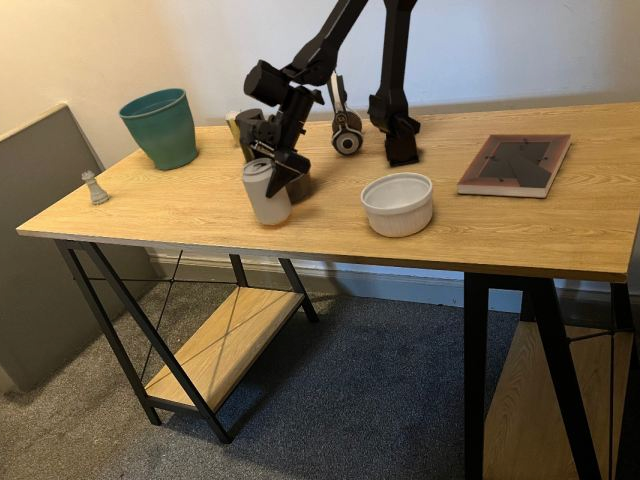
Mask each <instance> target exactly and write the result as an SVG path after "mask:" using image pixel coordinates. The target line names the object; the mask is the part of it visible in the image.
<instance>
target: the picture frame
mask: <svg viewBox="0 0 640 480" xmlns="http://www.w3.org/2000/svg"><path fill="white" fill-rule="evenodd" d="M571 143H572V134H571V133H569V134H565V133H563V134H559V133H558V134H550V133H549V134H548V133H547V134H545V133H544V134H541V133H540V134H539V133H538V134H536V133H534V134H525V133H524V134H490V135H489V136H488V137H487V139H486V141H484V144H482V146H481V148H480V149H479V151H478V153H477V154H475V155H476V156H475V157H474V158H473V160H472V161H471V163H470V164H469V166H468V167H467V168H466V170H465V172H464V173H463V175H461V178H460V179H459V180H458V182H457V183H456V188H457V189H456V190H457V193H458V194H459V195H460V194H462V195H463V194H464V195H482V196H498V197H499V196H502V197H503V196H504V197H505V196H506V197H517V198H518V197H520V198H537V199H538V198H540V199H545V198H546V197H547V195H548V193H549V191H550V188H551V186H552V184H553V182H554V181H555V178H556V176H557V173H558V171H559V169H560V167H561V165H562V163H563V160H564V158H565V156H566V155H567V152H568V150H569V148H570V146H571Z"/></svg>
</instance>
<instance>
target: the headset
mask: <svg viewBox="0 0 640 480" xmlns="http://www.w3.org/2000/svg"><path fill="white" fill-rule="evenodd" d="M337 67H338V63H337V64H336V67H335V69H334V71H333V74H332V76H331V78H330V80H329V81H328V83H327V84H326V88H327V92H328V95H329V99H330V103H331V106H332V111H333V113H334V115H333V117H332V120H331V130H332V135H331V139H330V144H331V146H332V147H333V149H334V150H335V151H336V152H337V153H338V154H339V155H341V156H344V157H350V156H354V155H356V154H357V153H358V152H359V151H360V149H361V148H362V147H363V144H364V137H365V136H364V135H363V132H362V131H363V119H362V115H360V113H359V111H356V110H354V109H353V108H350V107H348V104H347V101H348V93H347V90H346V87H345V82H344V75H342V74H340V75H338V73H337V70H336V69H337Z"/></svg>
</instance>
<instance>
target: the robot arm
mask: <svg viewBox="0 0 640 480" xmlns="http://www.w3.org/2000/svg"><path fill="white" fill-rule="evenodd" d="M369 1H370V0H337V2H336V3H335V5H334V7H333V8H332V10H331V12H330V13H329V15H328V16H327V18H326V20H325V22H324V23H323V24H322V27H320V30H319V32H317V34H316V35H315V36H314V37H312V39H310V40H308V42H306V43H305V44H304V45H303V46H302V48H300V49H299V51H298V52H297V53H296V54H295V56H294V57H293V58H292V61H291V62H290V63H288V64H285V66H283V67H281V68H279V69H278V68H276V67H275V66H274V65H272V64H271V63H270V62H267V61H266V60H264V59H262V58H261V59H258V61H257V63H256V65H254V66H253V67H252V68H251V70H250V71H249V73H246V75H245V78H244V82H243V89H242V90H243V94H244V95H245V96H247V97H249V98H252V99H253V100H256V101H257V102H260V103H262V104H264V105H266V106H267V107H269V108H275V107H276V106H278V105H279V106H278V109H277V111H276V113H275V114H273V113H271V114H270V115H268V118H267V120H266V119H265V120H264V121H263V120H249V119H241V124H240V137H243V138H245V139H244V142H246V143H248V144H250V145H251V147H250V146H248V145H247V148H248V149H249V151H250V153H251V155H252V161H254V160H256V159H260V158H269V159H272V160H273V161H272V160H270V163H271V166H272V169H273V171H272V174H271V177H270V181H269V184H268V187H267V191H266V195H265V197H267V198H269V199H270V198H272V197H273V196H274V195H275V194H276V193H277V192H279V191H280V190H281V189H282V188H283V187H284V186H285V185H287V184H288V183H289V182H291V181H292V180H293V179H294V178H296V177H297V176H301V173H299V172H302V173H304V174H306V175H308V172H310V170H311V168H312V162H311V160H310V159H309V158H307V157H306V156H304V155H302V154H300V153H299V150H298V149H296V145H297V143H298V141H299V139H300V136H301V135H302V136H305V135H306V133H307V130H306V129H304V127H305V124H306V122H307V120H308V118H309V116H310V113H311V110H312V109H313V106H314V103H315V104H318V105H320V106H325V104H326V101H325V99H324V97H323V94H322V93H323V92H322V90H321V89H318V88H319V87H323V86H325V85H327V83H328V81H329V80H330V78H331V76H332V74H334V69H335V67H336V64H337V65H338V58H339V52H340V50H341V47H342V45H343V43H344V42H345V40H346V38H347V37H348V35H349V34H350V32H351V30H352V28H353V27H354V25H355V24H356V22H357V20H358V19H359V17H360V16H361V14H362V13H363V11H364V9H365V7H366V6H367V4H368V3H369ZM382 1H383V5H384V7H385V23H384V34H383V35H384V36H383V44H382V56H381V69H380V72H381V73H380V80H379V81H380V82H379V87H378V88H377V91H376V92H375V94H371V93H370V94H368V95H369V96H368V109H367V112H366V114H367V115H368V116H369V117H368V118H369V122H370V124H371V125H372V126H373V127H375V128H377V130H378V131H379V132H380V133H382V134H385V139H384V142H383V143H384V144H383V146H384V151H385V155H386V160H387V162H389V167H390V168H393V167H398V166H399V167H400V166H405V165H410V164H415V163H419V162H420V153H419V148H418V145H417V144H418V143H417V138H416V135H418V134H420V132H421V126H422V125H421V122H420V121H418V120H417V119H415V118H412V116H409V115H410V113H409V102H408V99H407V98H408V97H407V95H406V92H405V89H404V86H405V76H406V66H407V57H408V47H409V38H410V28H411V27H410V26H411V18H412V12H413V10H414V8H415V7H416V5H417V3H418V1H419V0H382ZM336 68H337V67H336ZM291 83H293V84H296V85H297V86H293V85H291ZM307 85H309V86H310V87H311V86H312V87H316V88H314V89H312V90H311V89H310V88H308V87H307ZM270 153H271V154H273V155H274V157H273V156H271V155H270Z"/></svg>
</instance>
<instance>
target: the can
mask: <svg viewBox="0 0 640 480" xmlns="http://www.w3.org/2000/svg"><path fill="white" fill-rule="evenodd" d="M270 160H272V159H269V158H260V159H256V160H254V161H251V162H249V163H248V164H247V163H246V164H245V165H244V166H243V167H242V168H241V172H242V174H241V182H242V184H243V187H244V189H245V192H246V194H247V197H248V199H249V202H250V205H251V207H252V210H253V212H254V215H255V218H256V220H257V221H258V223H261V224H263V225H266V226H274V225H278V224H280V223H283V222H284V221H286V220H287V219H289V217H290V215H291V214H292V211H293V206H292V205H291V203H290V200H289V197H288V194H287V191H286V188H285V186H284V187H283V188H282V189H281V190H280V191H279V192H277V193H276V194H275V195H274V196H273V197H272V198H270V199H269V198H267V197H265V195H266V191H267V187H268V184H269V181H270V177H271V174H272V171H273V169H272V166H271V163H270ZM272 161H273V160H272Z"/></svg>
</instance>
